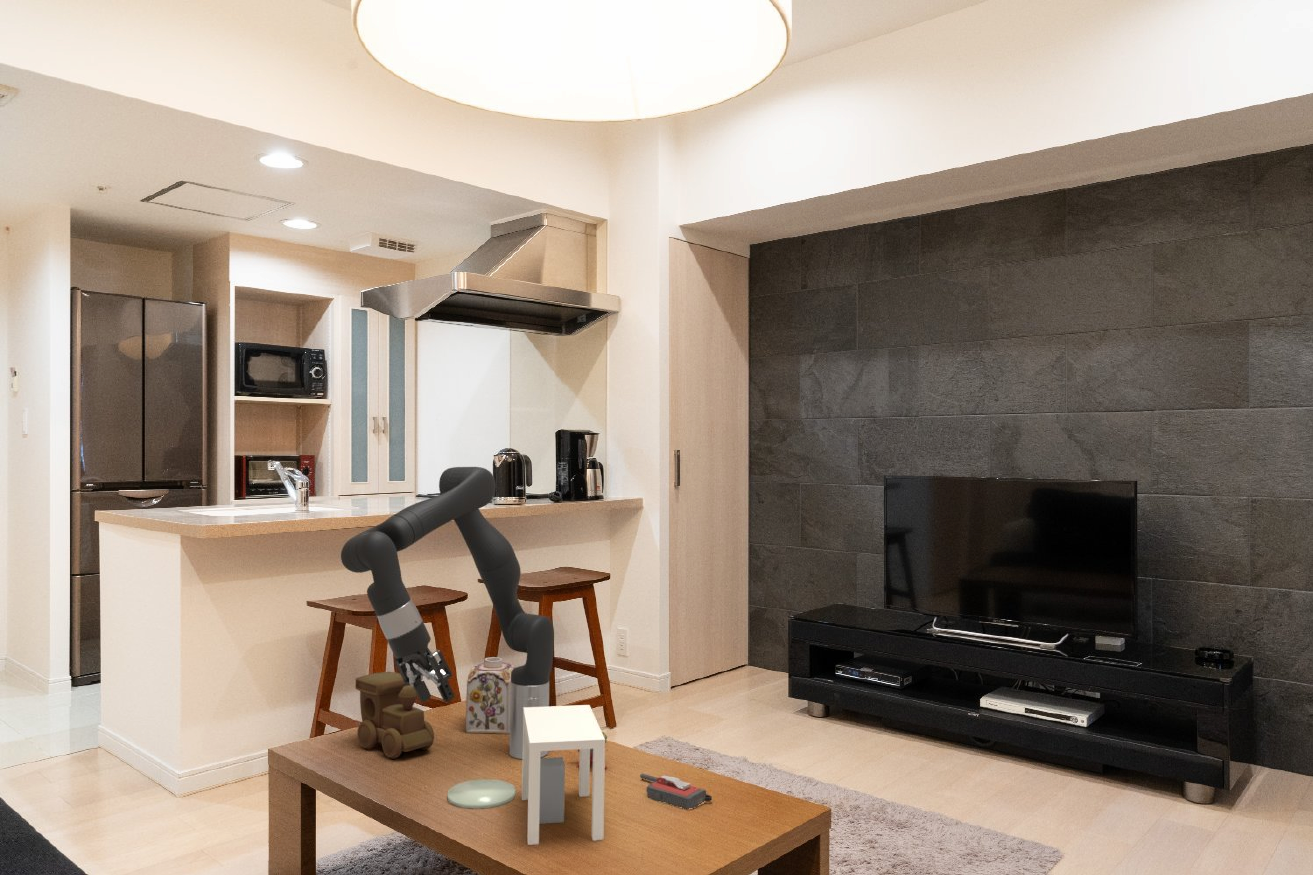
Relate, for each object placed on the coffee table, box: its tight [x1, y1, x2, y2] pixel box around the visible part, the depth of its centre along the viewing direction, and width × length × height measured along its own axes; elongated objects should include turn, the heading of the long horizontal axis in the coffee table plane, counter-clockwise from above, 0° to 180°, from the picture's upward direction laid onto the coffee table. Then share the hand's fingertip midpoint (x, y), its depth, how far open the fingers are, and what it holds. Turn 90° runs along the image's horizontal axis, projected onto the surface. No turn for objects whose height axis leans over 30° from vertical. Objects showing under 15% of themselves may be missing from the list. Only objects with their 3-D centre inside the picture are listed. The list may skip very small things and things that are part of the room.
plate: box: [447, 778, 516, 810], centre depth 189 cm, size 14×14×1 cm
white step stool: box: [521, 704, 606, 846], centre depth 179 cm, size 14×24×19 cm, turn 11°
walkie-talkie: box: [639, 773, 713, 809], centre depth 192 cm, size 9×4×20 cm
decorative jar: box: [465, 656, 516, 735], centre depth 238 cm, size 12×12×18 cm
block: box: [539, 756, 566, 825], centre depth 178 cm, size 5×5×11 cm
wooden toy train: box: [355, 671, 435, 760], centre depth 219 cm, size 20×11×17 cm, turn 50°
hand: (438, 699), depth 178 cm, fingers open, 8 cm apart
